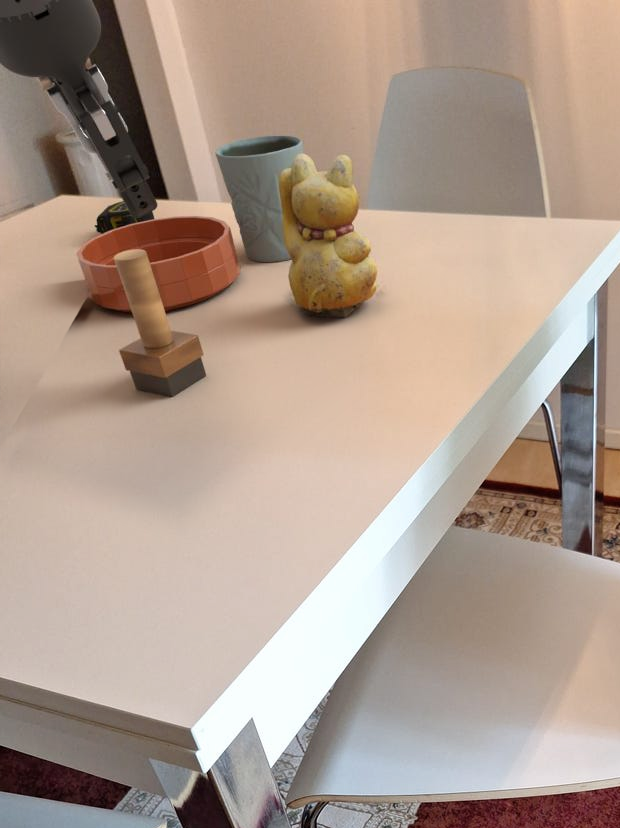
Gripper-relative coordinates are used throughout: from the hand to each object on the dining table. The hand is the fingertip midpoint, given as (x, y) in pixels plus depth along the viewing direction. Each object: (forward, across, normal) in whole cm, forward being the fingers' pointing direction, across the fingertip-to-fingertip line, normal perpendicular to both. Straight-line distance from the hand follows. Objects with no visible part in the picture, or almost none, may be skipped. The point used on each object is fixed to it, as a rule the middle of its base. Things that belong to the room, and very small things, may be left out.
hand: (122, 177), depth 74 cm
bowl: (+31, -19, 0) cm, 36 cm away
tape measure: (+42, -42, 0) cm, 60 cm away
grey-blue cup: (+36, -21, +15) cm, 44 cm away
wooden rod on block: (+18, +4, -5) cm, 19 cm away
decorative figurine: (+25, 0, +14) cm, 29 cm away
